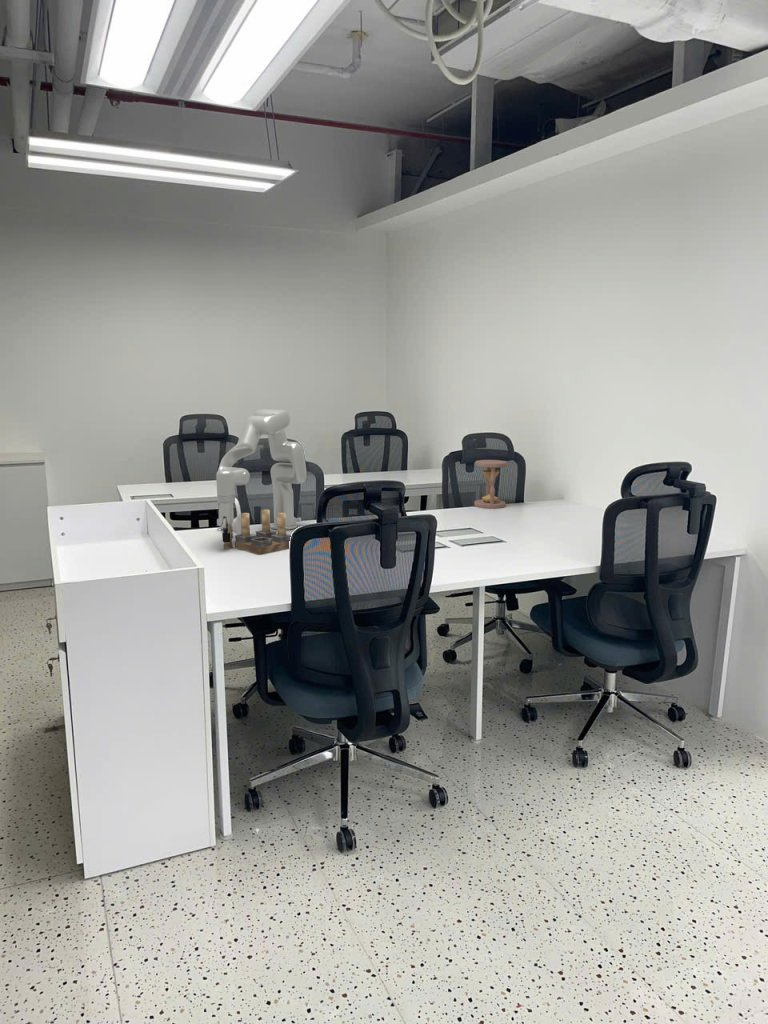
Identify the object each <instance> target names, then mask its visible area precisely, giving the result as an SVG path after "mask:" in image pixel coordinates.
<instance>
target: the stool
mask: <svg viewBox="0 0 768 1024" xmlns="http://www.w3.org/2000/svg"><path fill="white" fill-rule="evenodd" d="M260 511H261V529H260V530H256V531H255V534H253V533H251V532H250V531H251V530H250V529H251V528H250V524H251V522H250V513H249V512H241V534H240V535H236V534H235V535H234V536H235V537H234V538H235V540H234V542H233V543H234V549H237V550H241V551H245V552H248V553H252V554H255V555H259V556H261V555H266V554H270V553H275V552H280V551H284V550H287V549H290V548H289V541H290V537H291V535H292V534H288V533H287V530H286V513H277V530H274V529H271V515H270V513H271V510H270V509H261V510H260Z"/></svg>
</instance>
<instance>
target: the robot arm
mask: <svg viewBox="0 0 768 1024" xmlns="http://www.w3.org/2000/svg"><path fill="white" fill-rule="evenodd" d="M290 423H291V416H290V413H289V412H288V411H286V410H285V409H272V408H271V409H270V408H268V409H267V408H266V409H263V408H262V409H257V410H256V411H254V414H253V415H251V416H248V417H247V418H246V419H245V421H244V424H243V426H242V430H241V433H240V435H239V438H238V440H237V443H236V445H235V446H233V447H232V448H230V449H229V451H228V452H226V453H225V454H224V455H223V457H222V458H221V461H220V463H219V465H218V466H219V467H218V469H217V472H216V473H215V474H216V477H215V479H216V481H215V482H216V500H217V504H218V527H221V526H222V524H223V526H222V530H221V531H222V532H221V534H222V542H223V543H224V542H230V533H229V526H230V525H232V523H233V521H234V519H235V518H234V504H235V498H236V490H235V489H236V488H235V487H236V486H245V485H246V484H248V483H249V481H250V479H251V474H250V472H249V471H248V470H247V469H246V468H244V467H243V468H242V467H233V465H235V464H236V463H237V462H238V461H239V460H241V459H244V458H246V457H248V456H250V455H253V454H254V453H256V451H257V448H258V445H259V442H260V439H261V437H262V436H267V437H268V438H267V439H268V445H269V450H270V451H269V452H270V457H271V459H273V461H277V463H274V464H273V465H272V466H271V468H270V477H271V481H272V482H271V483H272V492H273V497H272V498H273V524H270V529H271V530H275V531H278V530H277V513H286V531H289V530H293V529H297V528H298V524H297V522H302V517H295V516H294V515H295V514H294V513H295V512H294V511H295V510H294V490H293V488H292V485H291V484H294V485H295V484H296V485H299V484H303V483H305V482H306V479H307V466H306V458H305V452H304V448H303V446H302V444H301V443H299V442H296V441H288V438H287V433H286V429H287V428H288V427H289V425H290ZM226 524H228V526H226ZM226 527H228V529H227V528H226ZM233 533H234V532H233V530H232V540H233V538H234V535H233Z"/></svg>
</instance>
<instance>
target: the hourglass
mask: <svg viewBox="0 0 768 1024" xmlns="http://www.w3.org/2000/svg"><path fill="white" fill-rule="evenodd" d="M474 465H475V467H479V468H486V469H484V470H482V474H483V476H484V477H485V479H486V485H485V496H482V497H481V499H477V500H474V501H473V502H474V507H476V508H479V509H489V510H490V509H493V510H494V509H502V508H503V509H504V508H505V507H506V501H504V500H500V499H499V497H497V496H495V495H496V489H495V483H496V479H497V476H498V475H499V474H500V470H496V468H498V469H499V468H505V467H507V466H508V462H507V460H506V461H505V460H499V459H480V460H476V461H475V463H474Z"/></svg>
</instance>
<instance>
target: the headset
mask: <svg viewBox="0 0 768 1024" xmlns="http://www.w3.org/2000/svg"><path fill="white" fill-rule="evenodd" d="M234 504H235V508H236V517H235V518H234V521H233V523H232V530H233V533H234V534H235V535H240V534H241V513H242V511H241V506H240V502H239V500H238V499H237V498H236V497H235V503H234ZM222 526H223V524H222ZM222 526H219V528H217V529H216V531H217V530H219V529H222ZM219 531H220V530H219Z"/></svg>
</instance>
